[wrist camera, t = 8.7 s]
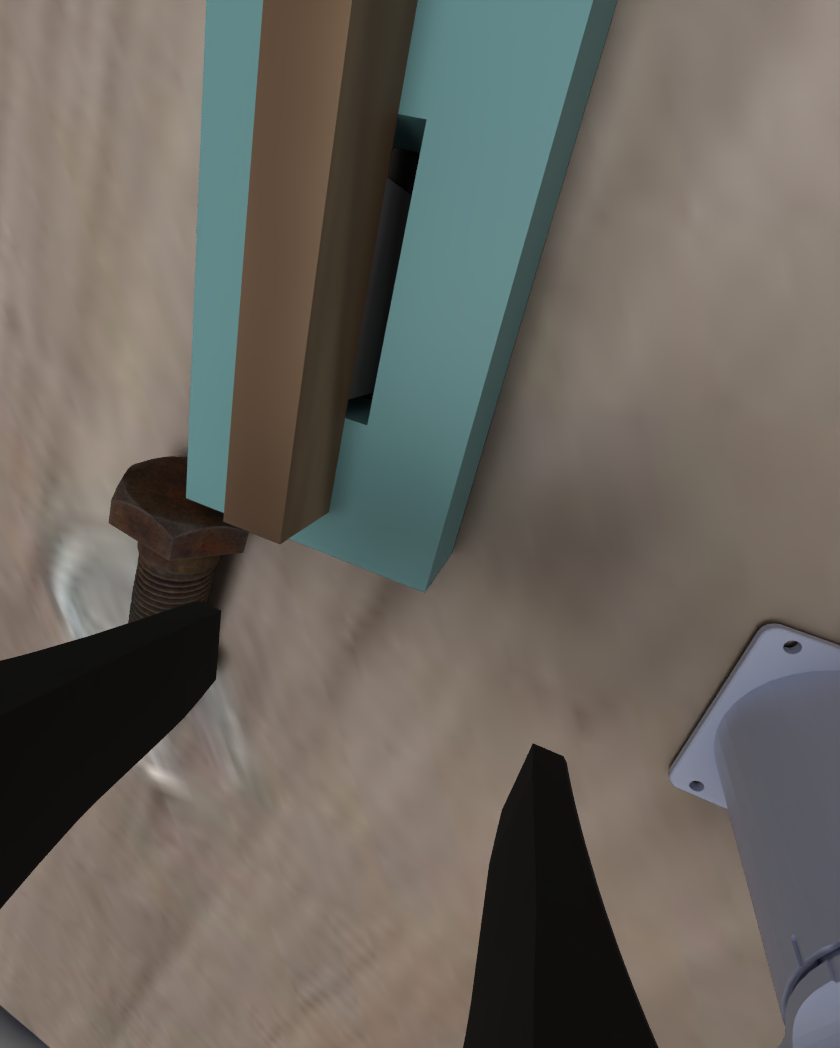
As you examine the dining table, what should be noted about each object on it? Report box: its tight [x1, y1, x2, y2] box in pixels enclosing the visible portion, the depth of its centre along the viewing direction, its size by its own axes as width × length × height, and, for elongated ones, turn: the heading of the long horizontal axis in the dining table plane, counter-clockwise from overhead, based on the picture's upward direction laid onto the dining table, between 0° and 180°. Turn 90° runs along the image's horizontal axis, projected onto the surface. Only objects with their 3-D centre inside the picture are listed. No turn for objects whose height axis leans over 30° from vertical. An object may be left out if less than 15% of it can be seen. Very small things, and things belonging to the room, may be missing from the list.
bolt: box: [109, 456, 249, 623], centre depth 24 cm, size 6×5×15 cm
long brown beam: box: [223, 0, 418, 544], centre depth 15 cm, size 2×14×6 cm, turn 166°
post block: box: [186, 0, 617, 593], centre depth 16 cm, size 10×18×4 cm, turn 166°
